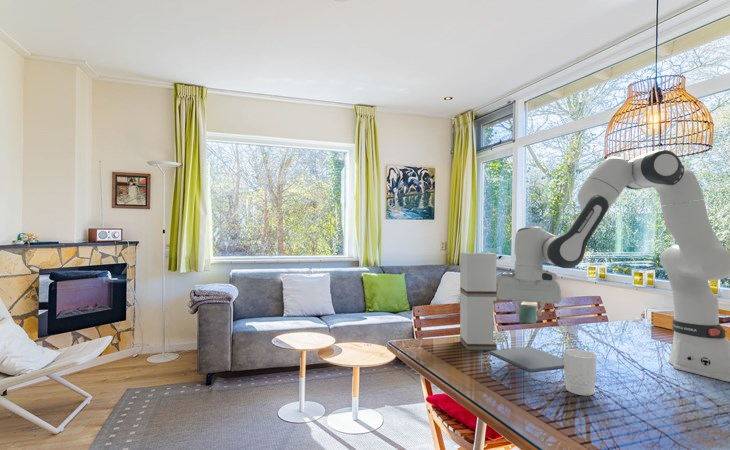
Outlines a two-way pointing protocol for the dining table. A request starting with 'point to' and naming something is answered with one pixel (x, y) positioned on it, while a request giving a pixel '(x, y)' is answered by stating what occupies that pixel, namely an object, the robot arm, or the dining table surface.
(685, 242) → the robot arm
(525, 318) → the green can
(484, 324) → the grey square tower
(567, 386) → the white cup
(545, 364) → the rubber mat
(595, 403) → the dining table surface
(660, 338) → the dining table surface
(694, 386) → the dining table surface
